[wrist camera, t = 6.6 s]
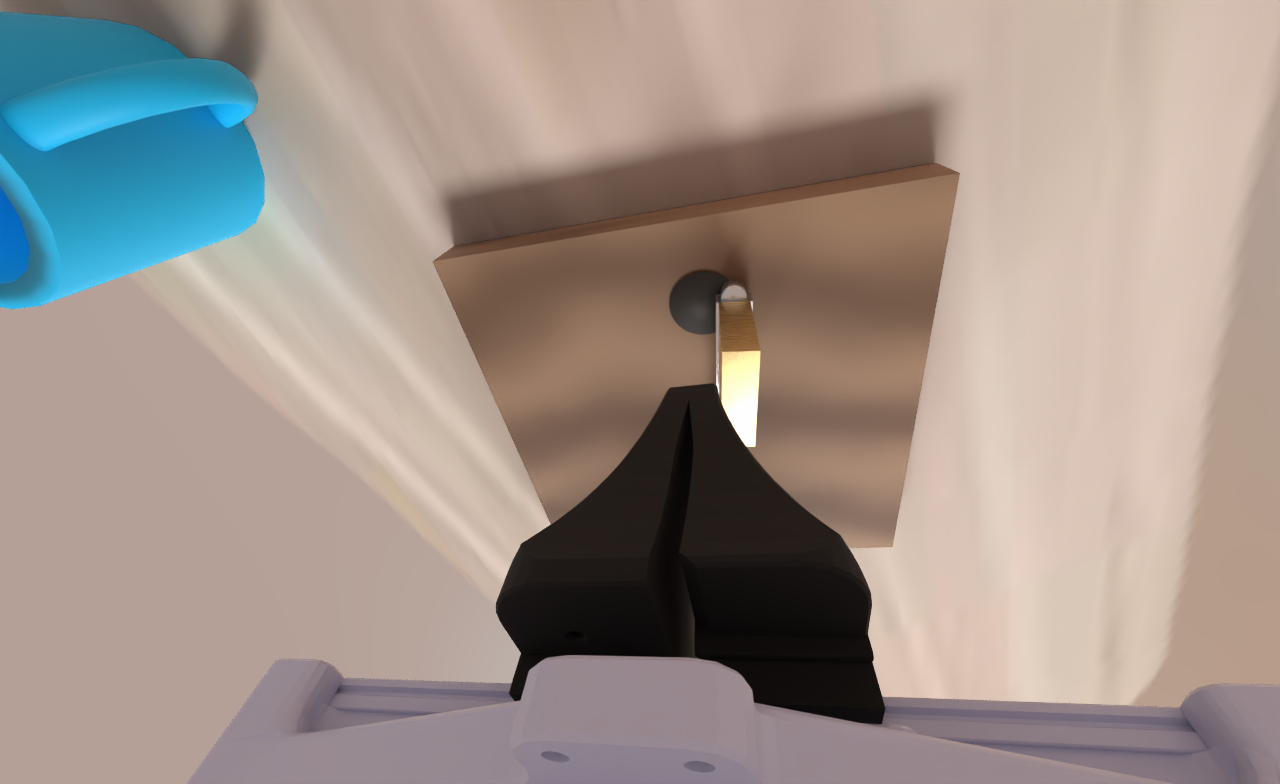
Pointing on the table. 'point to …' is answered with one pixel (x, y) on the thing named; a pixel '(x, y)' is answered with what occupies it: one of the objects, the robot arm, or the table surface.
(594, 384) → the hole plate
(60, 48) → the mug
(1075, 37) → the table surface
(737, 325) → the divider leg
